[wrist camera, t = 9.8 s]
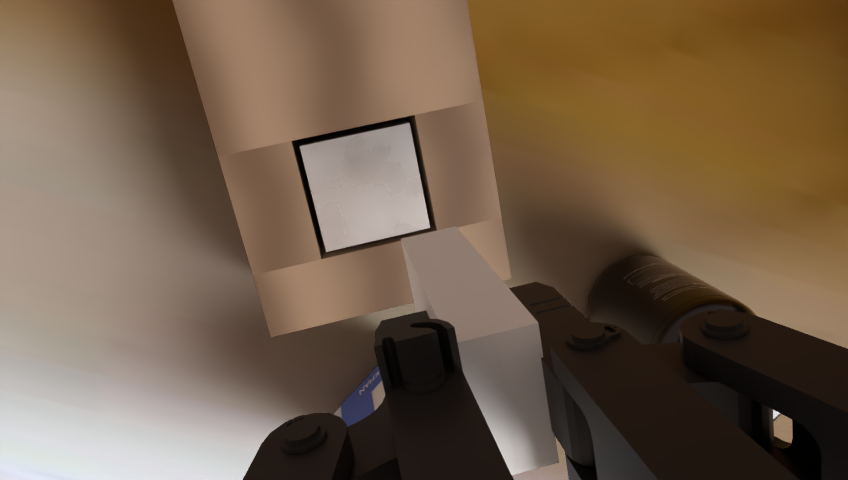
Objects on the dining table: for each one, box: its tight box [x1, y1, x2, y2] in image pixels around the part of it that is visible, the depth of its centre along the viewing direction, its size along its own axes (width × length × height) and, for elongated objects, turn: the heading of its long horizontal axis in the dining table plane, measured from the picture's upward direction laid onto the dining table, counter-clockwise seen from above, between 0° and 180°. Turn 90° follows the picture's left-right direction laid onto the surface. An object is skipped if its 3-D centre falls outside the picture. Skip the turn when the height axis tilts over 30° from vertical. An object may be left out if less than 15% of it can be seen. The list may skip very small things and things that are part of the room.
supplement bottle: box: [588, 255, 781, 421], centre depth 35 cm, size 7×7×12 cm
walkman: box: [333, 366, 385, 427], centre depth 34 cm, size 8×3×12 cm, turn 138°
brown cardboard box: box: [172, 0, 511, 337], centre depth 30 cm, size 12×24×8 cm, turn 11°
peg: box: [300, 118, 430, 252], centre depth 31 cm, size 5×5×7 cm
